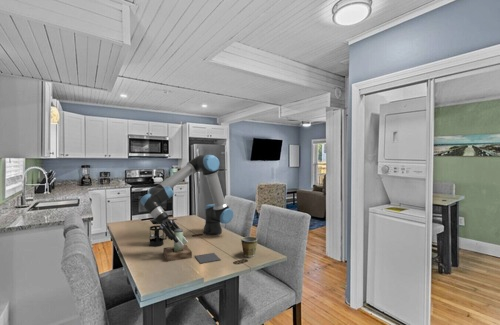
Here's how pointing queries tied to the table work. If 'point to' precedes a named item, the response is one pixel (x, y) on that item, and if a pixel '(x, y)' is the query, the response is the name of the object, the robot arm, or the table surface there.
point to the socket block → (177, 253)
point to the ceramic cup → (249, 246)
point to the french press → (156, 235)
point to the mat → (207, 258)
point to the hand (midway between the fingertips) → (183, 244)
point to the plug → (180, 235)
